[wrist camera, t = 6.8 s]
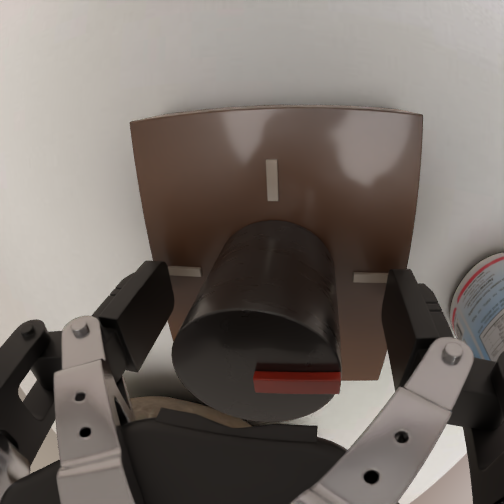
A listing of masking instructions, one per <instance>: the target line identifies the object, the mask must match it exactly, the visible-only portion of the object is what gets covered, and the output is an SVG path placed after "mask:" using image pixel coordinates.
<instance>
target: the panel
mask: <svg viewBox="0 0 504 504" xmlns="http://www.w3.org/2000/svg"><path fill="white" fill-rule="evenodd" d="M130 129H131V137H132V145H133V152H134V159H135V166H136V172H137V179H138V185H139V191H140V197H141V202H142V208H143V213H144V219H145V224H146V229H147V234H148V239H149V244H150V248H151V253H152V258H153V261H164V262H166V264H167V266H168V270H169V275H170V279H171V284H172V289H173V293H174V300H175V302H174V309H173V312H172V313H171V315H170V317H169V319H168V324H169V327H170V331H171V335H172V338H173V342H174V339H175V338H176V336H177V334H178V332H179V330H180V328H181V326H182V324H183V322H184V320H185V318H186V316H187V314H188V312H189V310H190V309H191V307H192V305H193V303H194V301H195V299H196V297H197V295H198V293H199V291H200V290H201V288H202V286H203V284H204V282H205V280H206V278H207V276H208V275H209V273H210V271H211V269H212V267H213V265H214V263H215V261H216V260H217V258H218V256H219V254H220V252H221V250H222V248H223V247H224V245H225V243H226V242H227V241H228V239H229V238H230V237H231V236H232V235H233V234H234V233H236V232H237V231H238V230H240V229H242V228H243V227H245V226H247V225H250V224H253V223H256V222H260V221H268V220H279V221H286V222H290V223H294V224H297V225H299V226H301V227H304V228H305V229H307V230H309V231H310V232H312V233H313V234H314V235H316V236H317V237H318V238H319V239H320V240H321V241H322V242H323V243H324V245H325V246H326V247H327V249H328V251H329V253H330V255H331V257H332V260H333V264H334V269H335V279H336V289H337V301H338V313H339V327H340V342H341V361H342V378H341V380H344V381H360V380H378V379H379V376H380V373H381V369H382V366H383V363H384V359H385V356H386V353H387V344H386V340H385V335H384V330H383V326H382V320H381V311H382V304H383V299H384V293H385V288H386V283H387V277H388V272H389V270H390V269H407V264H408V259H409V253H410V247H411V241H412V235H413V228H414V221H415V214H416V206H417V198H418V188H419V178H420V167H421V153H422V133H423V115H422V114H418V113H413V112H409V111H404V110H399V109H389V108H377V107H362V106H342V105H263V106H243V107H228V108H216V109H205V110H195V111H187V112H178V113H171V114H163V115H159V116H154V117H149V118H145V119H140V120H136V121H132V122H130Z"/></svg>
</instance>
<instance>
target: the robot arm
mask: <svg viewBox="0 0 504 504" xmlns="http://www.w3.org/2000/svg"><path fill="white" fill-rule="evenodd" d="M174 302H175V300H174V293H173V289H172V284H171V279H170V275H169V270H168V266H167V264H166V262H164V261H145V262H144V263H143V264H142V265H141V266H140V267H139V269H138V270H137V271H136V272H135V273H132V274H131V275H129V276H127V277H126V278H124V279H123V280H122V281H121V282H120V283H119V284H118V285H117V287H116V289H114V290H113V291H112V292H111V294H110V296H108V297H107V298H106V299H105V301H104V302H103V303H102V304H101V305H100V306H99V308H98V309H97V310H96V311H95V312H94V314H93V315H92V316H81V317H78V318H75V319H73V320H71V321H70V322H69V323H67V324H66V325H65V327H64V328H63V330H62V331H54V332H48V331H47V329H46V327H45V325H44V323H43V322H42V321H41V320H30V321H27V322H25V323H23V324H22V325H20V326H19V327H18V328H17V329H16V330H15V331H14V332H13V333H12V335H11V336H10V337H9V338H8V339H7V340H6V342H5V343H4V344H3V345H2V346H1V348H0V504H399V503H398V501H399V499H400V498H401V497H402V495H403V494H404V492H405V491H406V490H407V488H408V487H409V485H410V484H411V482H412V481H413V479H414V478H415V476H416V475H417V473H418V472H419V470H420V469H421V467H422V466H423V464H424V462H425V461H426V459H427V458H428V456H429V454H430V453H431V451H432V449H433V448H434V446H435V444H436V442H437V441H438V439H439V437H440V435H441V434H442V432H443V430H444V428H445V426H446V424H450V425H456V426H462V427H463V430H464V436H465V441H466V447H467V454H468V461H469V468H470V475H471V485H472V496H473V504H504V351H503V352H502V353H501V354H500V356H499V358H498V359H497V361H496V362H495V361H490V360H485V359H479V358H475V357H474V355H473V352H472V350H471V348H470V347H469V346H468V345H467V344H466V343H464V342H463V341H461V340H459V339H456V338H454V336H453V334H452V332H451V329H450V327H449V325H448V323H447V320H446V318H445V316H444V314H443V312H442V311H441V310H442V309H441V307H440V305H439V304H438V301H437V299H436V297H435V295H434V293H433V291H431V290H430V289H429V288H428V287H427V286H426V285H425V284H417V281H416V279H415V277H414V275H413V273H412V271H411V270H410V269H390V270H389V272H388V277H387V283H386V288H385V293H384V299H383V304H382V311H381V320H382V326H383V330H384V335H385V340H386V344H387V349H388V354H389V359H390V364H391V370H392V375H393V381H394V386H395V393H394V394H393V395H392V397H391V398H390V399H389V401H388V402H387V403H386V405H385V406H384V407H383V409H382V410H381V411H380V412H379V414H378V415H377V416H376V417H375V419H374V420H373V421H372V422H371V424H370V425H369V426H368V427H367V428H366V430H365V431H364V432H363V433H362V434H361V436H360V437H359V438H358V439H357V440H356V441H355V443H354V444H353V445H352V446H351V447H350V448H349V449H348V450H347V449H345V448H344V447H342V446H340V445H338V444H336V443H334V442H332V441H329V440H326V439H323V438H320V437H317V426H307V425H288V424H271V425H263V426H253V427H243V428H231V427H228V426H226V425H223V424H220V423H218V422H215V421H213V420H210V419H208V418H205V417H203V416H200V415H198V414H194V413H189V412H183V411H178V410H173V409H168V408H163V407H161V409H160V411H159V413H158V415H157V417H153V418H145V419H140V420H136V417H135V414H134V411H133V408H132V404H131V401H130V397H129V394H128V390H127V386H126V383H125V380H124V377H123V373H124V371H125V370H129V371H133V372H138V371H139V369H140V368H141V366H142V364H143V362H144V361H145V359H146V357H147V355H148V353H149V352H150V350H151V348H152V346H153V345H154V343H155V341H156V339H157V338H158V336H159V334H160V332H161V331H162V329H163V327H164V326H165V324H166V322H167V320H168V319H169V317H170V315H171V313H172V312H173V309H174ZM30 369H31V371H32V372H33V374H34V376H35V377H36V379H37V381H36V383H35V384H34V386H33V387H32V389H31V390H30V392H29V393H28V395H27V396H26V398H25V399H24V401H23V402H22V401H21V399H20V398H19V395H18V388H19V385H20V383H21V382H22V380H23V379H24V378H25V376H26V375H27V373H28V372H29V370H30ZM55 419H56V430H57V440H58V448H59V456H60V460H58V461H56V462H54V463H52V464H50V465H48V466H46V467H44V468H42V469H40V470H37V471H36V472H33V473H31V474H30V466H31V464H32V462H33V460H34V458H35V456H36V454H37V452H38V450H39V448H40V447H41V445H42V443H43V441H44V439H45V437H46V435H47V434H48V432H49V430H50V428H51V426H52V424H53V423H54V421H55Z"/></svg>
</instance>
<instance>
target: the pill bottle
mask: <svg viewBox="0 0 504 504" xmlns="http://www.w3.org/2000/svg"><path fill="white" fill-rule="evenodd" d="M450 320H451V325H452V328H453V330H454V333H455V335H456V338H457V339H459V340H461V341H463V342H464V343H466V344H467V345H468V346H469V347H470V348H471V350H472V352H473V355H474V357H475V358H479V359H485V360H490V361H495V362H496V361H497V359H498V358H499V356H500V354H501V353H502V352H503V351H504V252H503V253H498V254H495V255H492V256H490V257H488V258H486V259H484V260H482V261H481V262H479V263H478V264H477V265H475V266H474V267H473V268H472V269H471V270H470V271H469V272H468V273H467V275H466V276H465V277H464V278H463V280H462V281H461V283H460V284H459V286H458V288H457V290H456V292H455V294H454V297H453V300H452V304H451V309H450Z"/></svg>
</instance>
